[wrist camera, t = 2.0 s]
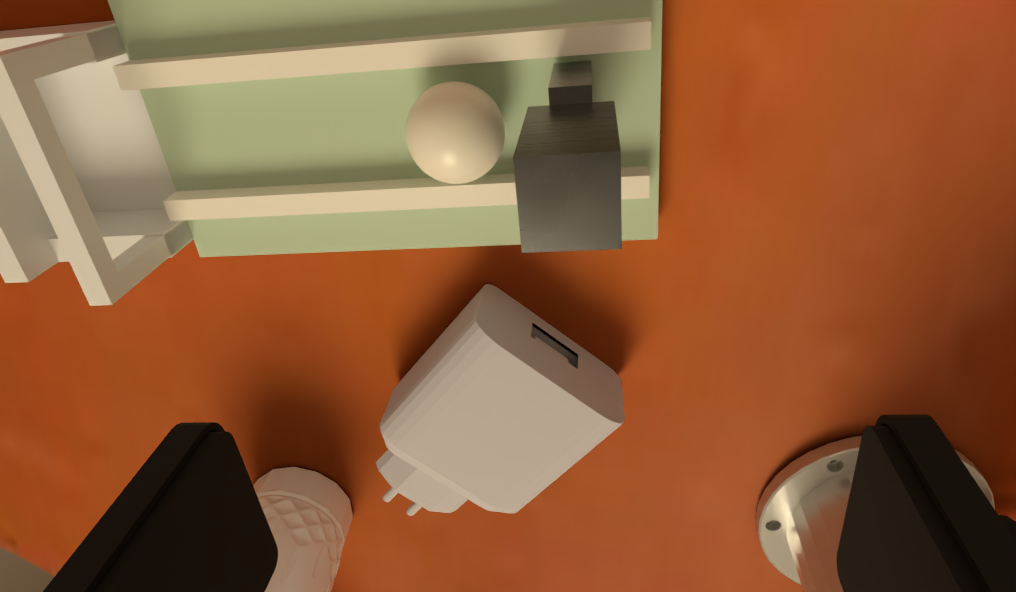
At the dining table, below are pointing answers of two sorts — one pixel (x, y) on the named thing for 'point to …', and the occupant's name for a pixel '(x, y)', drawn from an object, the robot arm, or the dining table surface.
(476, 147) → the ball
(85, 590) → the robot arm
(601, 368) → the charger
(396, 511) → the dining table surface
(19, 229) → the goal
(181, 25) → the pitch
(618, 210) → the block
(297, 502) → the white cup
